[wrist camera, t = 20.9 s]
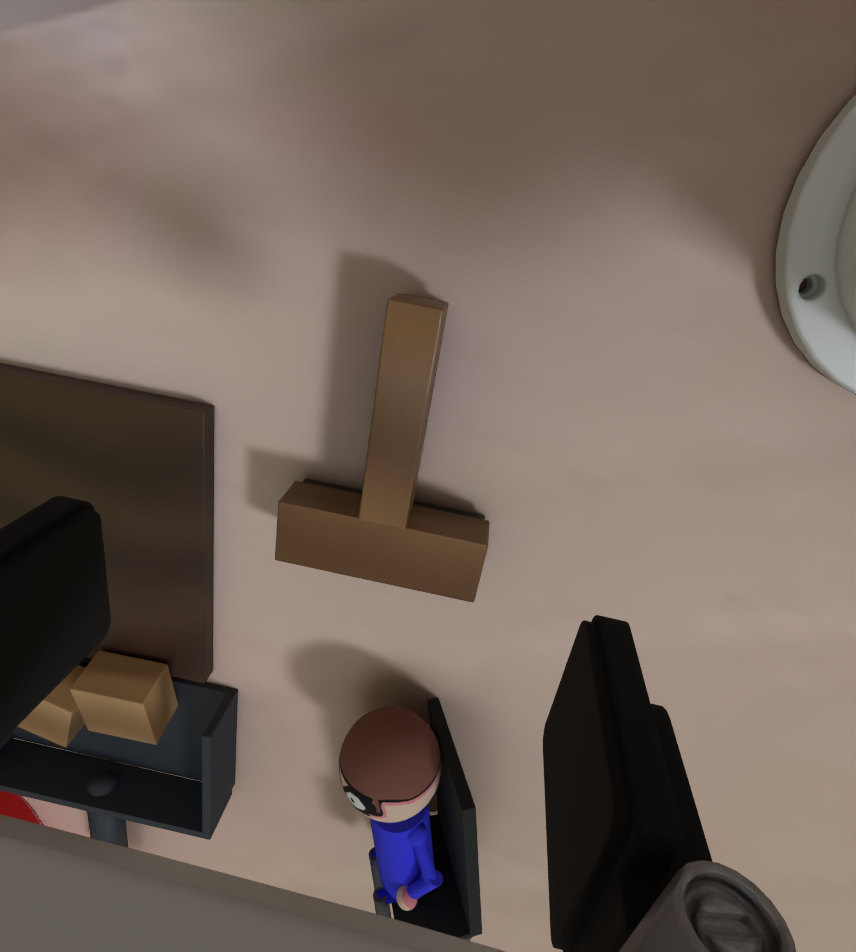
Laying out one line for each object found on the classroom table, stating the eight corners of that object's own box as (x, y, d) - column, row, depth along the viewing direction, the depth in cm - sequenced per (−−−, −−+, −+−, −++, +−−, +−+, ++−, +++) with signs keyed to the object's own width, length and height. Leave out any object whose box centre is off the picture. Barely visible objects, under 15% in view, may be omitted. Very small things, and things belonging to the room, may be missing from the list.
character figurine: (382, 843, 37) (361, 661, 32) (493, 862, 36) (493, 675, 30) (342, 985, 30) (306, 785, 25) (478, 1017, 29) (475, 812, 23)
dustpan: (-9, 635, 34) (-60, 676, 31) (238, 689, 33) (210, 737, 30) (30, 825, 41) (-9, 874, 38) (232, 873, 40) (209, 927, 37)
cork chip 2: (98, 649, 31) (68, 689, 29) (168, 663, 31) (142, 704, 29) (114, 691, 34) (87, 731, 32) (179, 705, 34) (156, 745, 32)
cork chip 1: (36, 644, 32) (-1, 681, 30) (102, 675, 32) (71, 713, 30) (33, 682, 34) (-1, 718, 32) (95, 710, 35) (65, 748, 33)
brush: (317, 272, 23) (290, 280, 20) (537, 314, 23) (542, 328, 20) (296, 527, 28) (272, 562, 25) (477, 565, 28) (473, 606, 25)
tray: (-35, 356, 27) (-54, 360, 26) (214, 405, 26) (204, 412, 25) (13, 627, 33) (-1, 638, 32) (213, 671, 33) (204, 683, 32)
